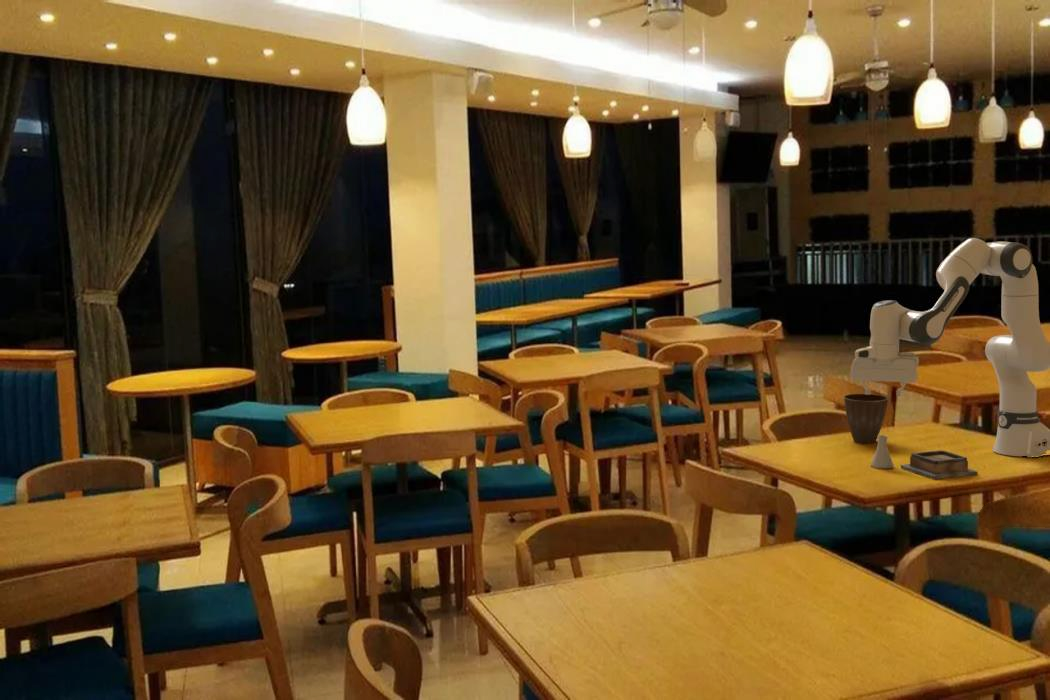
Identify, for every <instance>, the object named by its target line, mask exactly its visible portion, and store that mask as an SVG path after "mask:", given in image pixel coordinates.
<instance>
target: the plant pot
mask: <svg viewBox="0 0 1050 700" xmlns="http://www.w3.org/2000/svg"><path fill="white" fill-rule="evenodd" d="M888 401H889V397H888V396H884V395H882V394H881V395H880V394H874V393H873V394H872V393H870V395H865V393H851V394H846V395H844V396H843V402H844V409H845V415H846V419H847V423H848V428H849V430H850V434H851V436H852V439H853V442H855V443H857V444H874V443H876V442H877V441H878V438H877V436H878V435H880V432H881V429H882V426H883V424H884V423H883V422H884V420H885V415H886V412H887V408H888Z"/></svg>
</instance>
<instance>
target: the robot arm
mask: <svg viewBox="0 0 1050 700" xmlns="http://www.w3.org/2000/svg"><path fill="white" fill-rule="evenodd" d="M1036 269H1037V268H1036V267H1035V265H1034V264H1033V255H1032V251H1031V250H1030V248H1029V247H1028V246H1027V245H1026V244H1023V243H1020V242H1012V241H1011V242H1010V241H1001V240H1000V241H992V242H986V241H984V240H982V239H980V238H976V237H970V238H968V239H966V240H964V241H963V242H962V243H960V244H959V245H958V246H956V247H955V248H954V249H953V250H952V251H951V252H950V253H949V254H948V255H947V256H946V257H945V259H944V260H942V262H941V263H940V264H939V266H938V267H937V269H936V272H935V276H936V281H937V283H938V285H939V286H940V287H941V288H942V290H944V291H943V293H942V294H941V296H940V297H939V298H938V300H937V301H936V303H935V304H934V306H933V307H932V308H930V309H928V310H924V311H919V310H917V311H916V310H912V309H909V308H907V307H904V306H903V305H901V304H899V302H898V301H897V300H892V299H889V300H881V301H877V302H875V303H874V304H873V306H872V308H871V312H870V317H869V318H870V320H869V330H870V339H869V346H864V347H862V348H858V349H856V350H855V351H854V357H855V358H854V359H853V360H852V363H851V365H850V374H849V377H850V379H851V380H852V381H861V385H862V387H863V388H864V394H865V395H870V394H871V388H869V387H868V386H867V382H889V383H891V382H893V383H894V382H895V383H900V388H899V389H896V390H895V391H896V394H895V395H896V397H902V393H903V392H902V391H903V390H904V388H905V387H906V383H912V384H913V383H916V382H917V380H918V367H919V364H920V357H919V356H918V355H917V354H915V353H914V352H901V351H900V340H903V341H909V342H914V343H918V344H921V345H925V346H930V345H933V344H935V343H937V342H938V341H939V340H940V339H941V337H942V336H943V334H944V331H945V329H946V326H947V324H948V323H949V321H950V320H951V318H952V317H953V315H954V314H955V313H956V311H957V310H958V308H959V307H960V306H961V304H962V303H963V301H964V300H965V298H966V297H967V296H968V293H969V291H970V286H971V284H972V283H973V282H974V281H975V279H976V278H977V277H978V276H979V275H988V276H994V277H999V278H1000V279H1001V282H1002V283H1001V301H1000V302H1001V305H1000V306H1001V311H1000V312H1001V314H1000V315H1001V319H1002V321H1003V322H1004V323H1005V324H1006V325H1007V327H1008V329H1009V331H1010V334H1001V335H995V336H993V337H991V338H989V339H988V341H987V342H986V344H985V349H984V354H985V356H986V359H987V360H988V361H989V363H991V365H992V367H993V369H994V371H995V374H996V377H997V381H998V385H999V386H998V388H999V408H998V410H997V423H998V426H997V431H996V436H995V437H996V438H995V441H994V446H993V448H992V451H993V453H996V454H999V455H1003V456H1011V457H1022V456H1027V458H1032V456H1034V457H1036V456H1041V455H1043V454H1046V451H1047V450H1050V429H1049V428H1048V427H1047V426H1046V425H1045V424H1044V423H1042V422H1041V419H1046V417H1047V415H1048V414H1047V413H1046V412H1044V411H1040V412H1038V411H1037V388H1036V385H1035V384H1034V383H1033V382H1032V381H1031V379H1030V377H1029V374H1028V372H1030V373H1035V372H1038V373H1039V372H1044V371H1048V370H1049V369H1050V342H1049V341H1048V339H1047V337H1046V335H1045V333H1044V331H1043V328H1042V324H1041V321H1040V310H1039V302H1040V299H1039V297H1040V295H1039V280H1038V274H1037V273H1038V272H1037V270H1036ZM1040 418H1041V419H1040Z"/></svg>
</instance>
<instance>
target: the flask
mask: <svg viewBox="0 0 1050 700" xmlns="http://www.w3.org/2000/svg"><path fill="white" fill-rule="evenodd" d="M888 437H889V436H888V435H884V434H883V435H881V434H879V435H878V436H877V447H876V450H875V453H874V456H873V458H872V461H871V462H870V463H871V464H870V467H873V468H875V469H893V468H894V466H895V465H894V463H893V460H892V457H891V454H890V451H889V448H888V441H887V440H888Z"/></svg>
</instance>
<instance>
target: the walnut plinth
mask: <svg viewBox="0 0 1050 700" xmlns="http://www.w3.org/2000/svg"><path fill="white" fill-rule="evenodd" d="M900 469H901V470H905V469H906V470H905V471H907V470H909V471H908V472H910V471H912V472H911V473H913V472H915V473H914V474H916V473H918V474H917V475H919V474H921V475H920V476H922V475H923V476H922V477H925V476H926V478H928V477H929V479H930V478H932V479H931V480H933V479H934V480H940V478H943V479H950V477H952V478H960V477H959V476H961V477H968V476H967V475H970V476H977V475H978V472H979V471H977V470H974V469H971V468H969V461H968V457H966V456H963V455H959V454H957V453H953V452H949V451H947V450H931V451H930V450H929V451H920V452H913V453H911V454H910V456H909V463H906V464H900Z"/></svg>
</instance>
